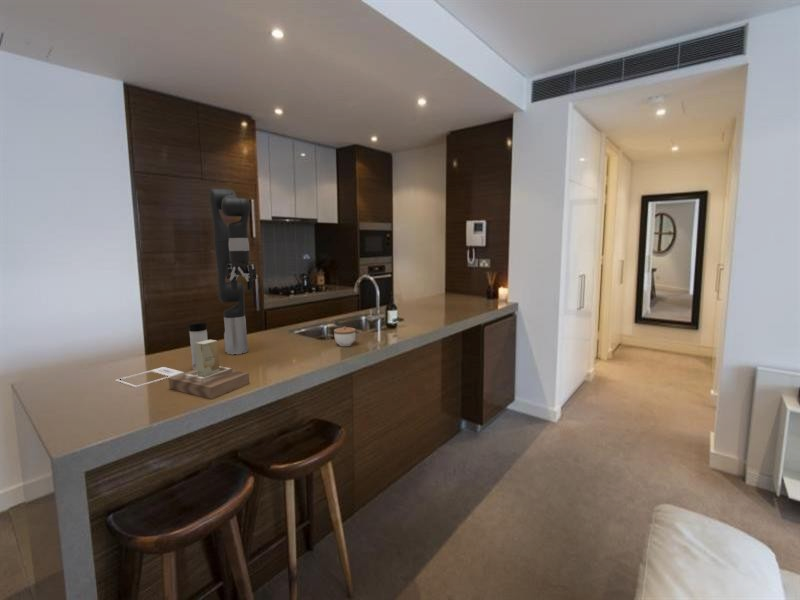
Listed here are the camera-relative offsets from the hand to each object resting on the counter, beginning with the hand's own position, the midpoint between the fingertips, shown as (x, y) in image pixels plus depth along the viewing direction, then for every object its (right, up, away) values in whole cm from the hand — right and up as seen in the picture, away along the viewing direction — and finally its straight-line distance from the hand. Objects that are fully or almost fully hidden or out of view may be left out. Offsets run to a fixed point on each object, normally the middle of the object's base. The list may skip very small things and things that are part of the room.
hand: (242, 290), depth 162 cm
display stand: (-5, -35, -17) cm, 39 cm away
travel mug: (-17, -33, +1) cm, 37 cm away
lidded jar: (+36, -26, +38) cm, 59 cm away
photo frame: (-33, -35, -6) cm, 48 cm away
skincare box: (-5, -31, -17) cm, 36 cm away
